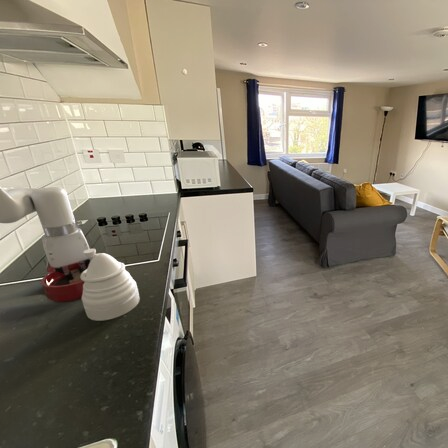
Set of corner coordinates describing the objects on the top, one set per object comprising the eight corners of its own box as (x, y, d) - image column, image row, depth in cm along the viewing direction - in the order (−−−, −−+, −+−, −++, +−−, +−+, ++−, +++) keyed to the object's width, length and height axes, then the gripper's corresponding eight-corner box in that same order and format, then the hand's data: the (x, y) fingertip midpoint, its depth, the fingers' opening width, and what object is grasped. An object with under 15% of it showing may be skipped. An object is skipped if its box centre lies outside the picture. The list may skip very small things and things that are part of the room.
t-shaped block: (66, 281, 85) (63, 272, 84) (85, 275, 89) (82, 266, 88) (74, 294, 79) (71, 285, 78) (94, 287, 82) (91, 279, 81)
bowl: (34, 305, 75) (27, 289, 73) (66, 277, 89) (61, 262, 87) (94, 299, 78) (89, 283, 76) (116, 272, 92) (112, 258, 90)
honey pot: (80, 326, 68) (59, 265, 61) (92, 298, 78) (75, 244, 72) (138, 312, 73) (123, 255, 66) (141, 287, 84) (129, 236, 77)
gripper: (90, 219, 86) (103, 267, 93) (22, 233, 75) (43, 287, 82) (96, 225, 82) (110, 275, 89) (25, 240, 71) (47, 297, 77)
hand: (78, 280), depth 85 cm, fingers closed on t-shaped block, 2 cm apart
